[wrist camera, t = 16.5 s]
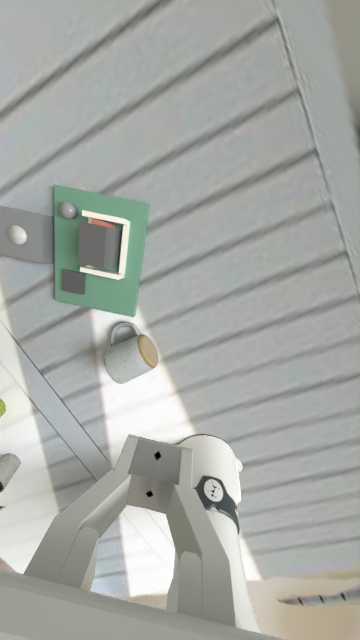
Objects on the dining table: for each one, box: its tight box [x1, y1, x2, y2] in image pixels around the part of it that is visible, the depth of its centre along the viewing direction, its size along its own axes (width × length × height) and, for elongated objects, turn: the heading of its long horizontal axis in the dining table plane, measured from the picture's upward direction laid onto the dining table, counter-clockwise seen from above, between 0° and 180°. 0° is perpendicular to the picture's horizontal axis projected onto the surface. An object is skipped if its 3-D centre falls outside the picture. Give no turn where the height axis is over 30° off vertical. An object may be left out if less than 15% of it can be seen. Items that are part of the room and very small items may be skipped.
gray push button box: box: [0, 206, 54, 264], centre depth 36 cm, size 8×8×4 cm
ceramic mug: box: [104, 322, 158, 384], centre depth 39 cm, size 11×8×8 cm
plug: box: [79, 219, 122, 269], centre depth 33 cm, size 7×4×6 cm, turn 169°
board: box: [54, 185, 150, 317], centre depth 36 cm, size 20×16×4 cm
